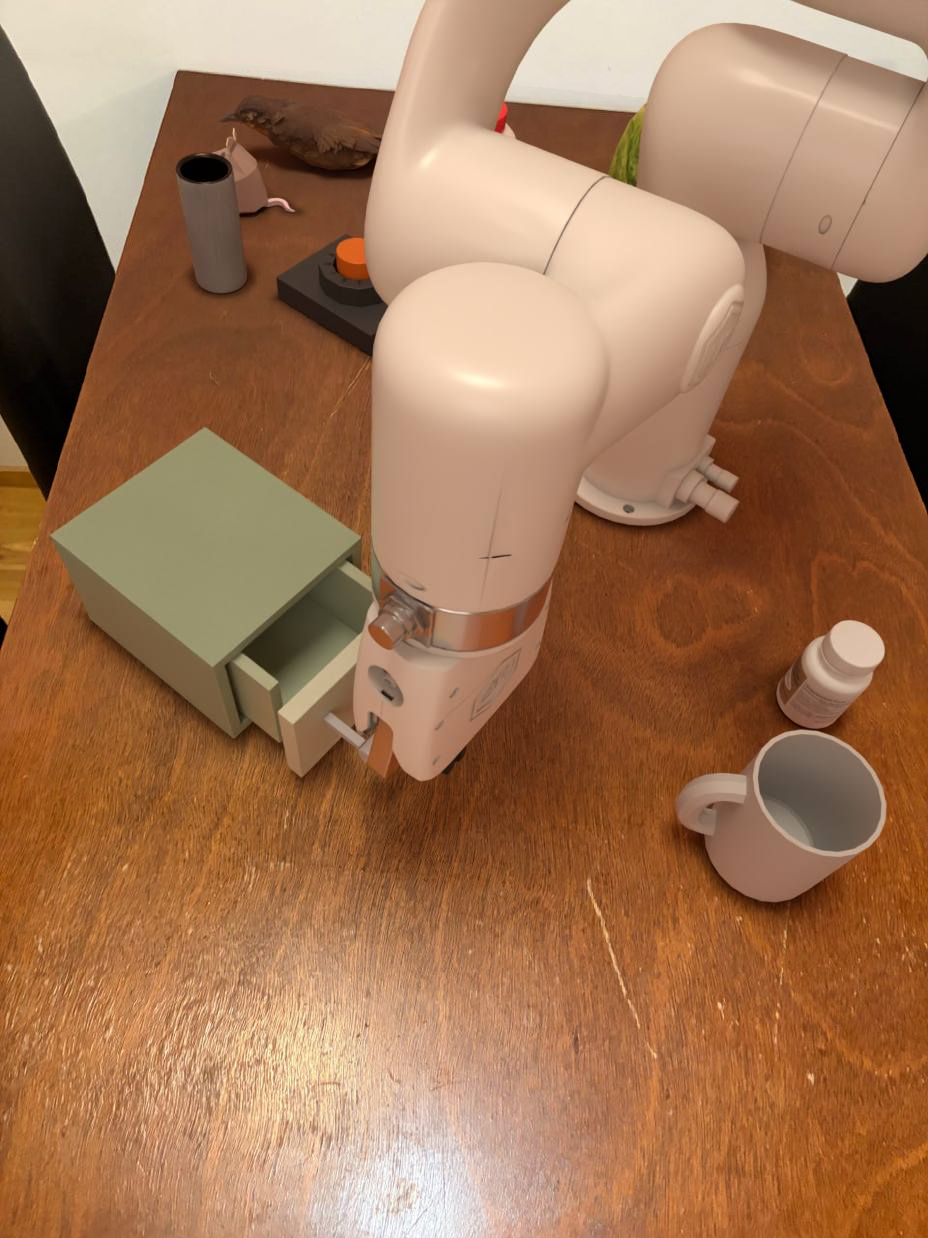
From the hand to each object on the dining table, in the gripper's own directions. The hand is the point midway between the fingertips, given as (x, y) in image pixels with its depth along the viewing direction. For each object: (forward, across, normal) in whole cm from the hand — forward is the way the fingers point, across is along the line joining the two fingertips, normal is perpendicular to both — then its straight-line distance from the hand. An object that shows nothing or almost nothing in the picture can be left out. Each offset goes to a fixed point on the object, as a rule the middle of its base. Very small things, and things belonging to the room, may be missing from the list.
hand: (434, 750), depth 52 cm
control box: (+4, +31, +34) cm, 46 cm away
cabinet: (+4, 0, +18) cm, 18 cm away
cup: (+4, +9, -17) cm, 20 cm away
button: (0, +31, +34) cm, 46 cm away
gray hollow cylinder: (+4, +26, +45) cm, 52 cm away
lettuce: (+4, +63, +19) cm, 66 cm away
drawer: (+3, 0, +10) cm, 10 cm away
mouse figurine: (+4, +36, +51) cm, 62 cm away
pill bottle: (+4, +21, -16) cm, 27 cm away
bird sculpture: (+4, +47, +49) cm, 68 cm away
